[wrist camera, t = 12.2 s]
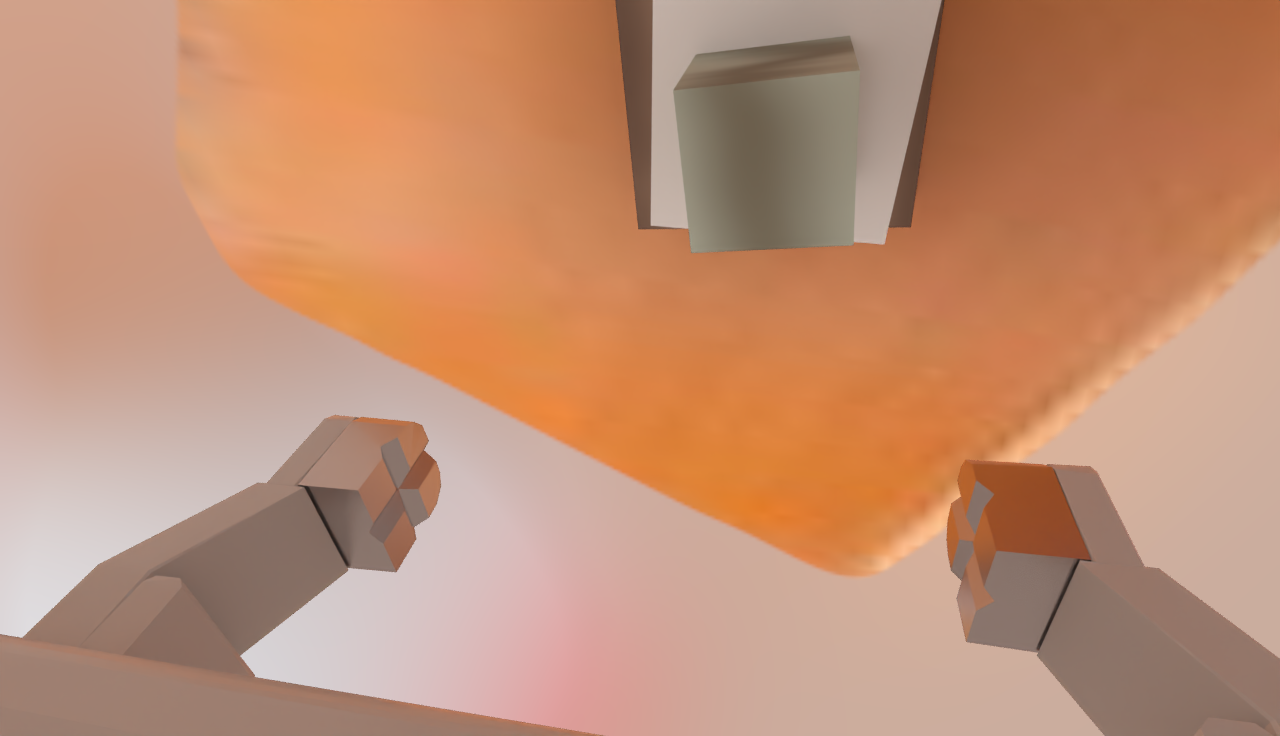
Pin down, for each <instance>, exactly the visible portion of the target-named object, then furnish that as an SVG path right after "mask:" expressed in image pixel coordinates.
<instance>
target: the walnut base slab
mask: <svg viewBox="0 0 1280 736" xmlns="http://www.w3.org/2000/svg"><path fill="white" fill-rule="evenodd" d="M943 6H944V0H942V1H941V5H940V9H939V13H938V18H937V22H936V26H935V31H934V35H933V39H932V43H931V48H930V52H929V56H928V60H927V65H926V69H925V73H924V77H923V82H922V86H921V90H920V95H919V99H918V103H917V107H916V112H915V116H914V120H913V124H912V129H911V133H910V137H909V142H908V146H907V150H906V154H905V159H904V163H903V167H902V171H901V176H900V180H899V184H898V188H897V193H896V197H895V201H894V206H893V210H892V214H891V218H890V223H889V227H911V222H912V215H913V208H914V201H915V195H916V188H917V181H918V174H919V168H920V161H921V154H922V147H923V141H924V134H925V127H926V121H927V114H928V107H929V100H930V94H931V87H932V80H933V73H934V67H935V60H936V53H937V46H938V40H939V33H940V26H941V19H942V13H943ZM616 10H617V20H618V30H619V40H620V50H621V60H622V70H623V80H624V90H625V100H626V110H627V120H628V130H629V140H630V150H631V160H632V170H633V180H634V190H635V200H636V210H637V220H638V229H685V228H673V227H661V226H651V139H652V34H653V0H616Z"/></svg>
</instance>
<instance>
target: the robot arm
mask: <svg viewBox="0 0 1280 736" xmlns="http://www.w3.org/2000/svg"><path fill="white" fill-rule="evenodd" d="M428 441H429V440H428V438H427V435H426V433H425V431H424V428H423V426H422V425H420V424H418V423H415V422H409V421H398V420H387V419H377V418H366V417H360V418H357V417H349V416H339V415H334V416H331V417H328V418H326V419H324V420H323V421H322V422H321V424H320V425H319V426H318V427H317V428H316V429H315V430H314V431H313V432H312V433H311V435H310V436H309V437H308V438H307V439H306V440H305V441H304V442H303V444H302V445H301V446H300V447H299V448H298V449H297V450H296V451H295V452H294V453H293V454H292V456H291V457H290V458H289V459H288V460H287V461H286V462H285V463H284V464H283V466H282V467H281V468H280V469H279V470H278V471H277V472H276V473H275V474H274V475H273V477H272V478H271V479H270V480H269V481H268V482H267V483H256V484H254V485H252V486H251V487H248V488H247V489H245V490H243V491H241V492H239V493H237V494H235V495H233V496H231V497H229V498H227V499H226V500H223V501H221V502H219V503H217V504H215V505H213V506H212V507H210V508H208V509H206V510H204V511H202V512H200V513H198V514H196V515H194V516H192V517H190V518H188V519H187V520H184V521H182V522H180V523H179V524H176V525H174V526H173V527H171V528H169V529H167V530H165V531H163V532H161V533H159V534H157V535H155V536H153V537H151V538H149V539H147V540H145V541H143V542H141V543H139V544H137V545H135V546H134V547H132V548H130V549H128V550H126V551H124V552H122V553H120V554H118V555H116V556H114V557H112V558H110V559H108V560H107V561H104V562H103V563H100V564H99V565H97V566H96V567H95V568H94V569H93V570H92V571H91V572H90V573H89V574H88V575H87V576H86V577H85V578H84V579H83V580H82V581H81V582H80V583H79V584H78V585H77V586H76V587H75V588H74V589H72V590H71V591H70V592H69V593H68V594H67V595H66V596H65V597H64V598H63V599H62V600H61V601H60V602H59V603H58V604H57V605H56V606H55V607H54V608H53V609H52V610H51V611H50V612H49V613H48V614H46V615H45V616H44V618H42V619H41V620H40V621H39V622H38V623H37V624H36V625H35V626H34V627H33V628H32V629H31V630H30V631H29V632H28V633H27V634H26V635H25V636H24V637H23V638H19V637H13V636H7V635H2V634H0V736H603V735H597V734H591V733H585V732H579V731H573V730H567V729H561V728H555V727H549V726H543V725H537V724H531V723H525V722H519V721H513V720H507V719H501V718H495V717H489V716H483V715H477V714H471V713H465V712H459V711H453V710H447V709H441V708H435V707H430V706H424V705H417V704H412V703H406V702H400V701H393V700H387V699H381V698H376V697H369V696H364V695H358V694H352V693H346V692H339V691H334V690H328V689H322V688H316V687H310V686H304V685H298V684H292V683H286V682H280V681H275V680H268V679H263V678H256V677H255V675H254V674H253V672H252V671H251V670H250V668H249V667H248V666H247V664H246V663H245V662H244V660H243V659H242V658H241V657H240V655H241V654H243V653H244V652H245V651H246V650H248V649H249V648H250V647H251V646H253V645H254V644H255V643H257V642H258V641H259V640H260V639H262V638H263V637H264V636H265V635H267V634H268V633H269V632H271V631H272V630H273V629H275V628H276V627H277V626H278V625H279V624H281V623H282V622H283V621H285V620H286V619H287V618H289V617H290V616H291V615H292V614H294V613H295V612H296V611H297V610H299V609H300V608H301V607H303V606H304V605H305V604H306V603H308V602H309V601H310V600H311V599H313V598H314V597H315V596H317V595H318V594H319V593H320V592H321V591H323V590H324V589H325V588H327V587H328V586H329V585H330V584H332V583H333V582H334V581H336V580H337V579H338V578H339V577H341V576H342V575H343V574H345V573H346V572H347V571H348V568H356V569H367V570H378V571H389V572H397V570H398V569H399V567H400V565H401V564H402V562H403V560H404V559H405V557H406V555H407V554H408V552H409V550H410V549H411V547H412V545H413V544H414V542H415V540H416V535H415V529H414V527H415V526H417V525H418V524H420V523H421V522H423V521H424V520H426V519H427V518H429V517H430V515H431V513H432V511H433V510H434V508H435V506H436V504H437V501H438V496H439V492H440V488H441V480H440V471H439V468H438V465H437V462H436V461H435V460H434V459H433V458H432V457H431V456H430V455H428V454H427V453H426V452H425V451H424V449H425V447H426V445H427V443H428ZM957 481H958V485H959V490H960V494H961V497H960V498H958V499H957V500H956V501H954V502H953V503H951V508H950V512H949V517H948V523H947V549H948V558H949V563H950V568H951V571H952V572H953V573H954V574H955V575H956V576H957V577H958V578H959V579H960V580H961V585H960V589H959V592H958V596H957V602H958V606H959V611H960V616H961V620H962V625H963V630H964V634H965V639H966V642H970V643H977V644H984V645H991V646H998V647H1004V648H1011V649H1018V650H1024V651H1031V652H1038V654H1037V656H1038V657H1039V659H1040V660H1041V661H1042V662H1043V663H1044V664H1045V666H1046V667H1047V668H1048V669H1049V670H1050V672H1051V673H1052V674H1053V675H1054V676H1055V677H1056V679H1057V680H1058V681H1059V682H1060V683H1061V685H1062V686H1063V687H1064V688H1065V689H1066V691H1067V692H1068V693H1069V694H1070V695H1071V696H1072V698H1073V699H1074V700H1075V701H1076V702H1077V704H1079V706H1080V707H1081V708H1082V709H1083V711H1084V712H1085V713H1086V714H1087V715H1088V716H1089V718H1090V719H1091V720H1092V721H1093V722H1094V724H1095V725H1096V726H1097V727H1098V728H1099V730H1100V731H1101V732H1102V733H1103V734H1104V735H1105V736H1280V658H1278V657H1277V656H1275V655H1274V654H1273V653H1271V652H1270V651H1269V650H1267V649H1266V648H1265V647H1263V646H1262V645H1261V644H1259V643H1258V642H1257V641H1255V640H1254V639H1252V638H1251V637H1250V636H1249V635H1247V634H1246V633H1245V632H1243V631H1242V630H1241V629H1239V628H1238V627H1237V626H1235V625H1234V624H1233V623H1231V622H1230V621H1229V620H1227V619H1226V618H1225V617H1223V616H1222V615H1221V614H1219V613H1218V612H1216V611H1215V610H1214V609H1212V608H1211V607H1210V606H1208V605H1207V604H1206V603H1204V602H1203V601H1202V600H1200V599H1199V598H1198V597H1196V596H1195V595H1194V594H1192V593H1191V592H1190V591H1188V590H1187V589H1186V588H1184V587H1183V586H1181V585H1180V584H1179V583H1177V582H1176V581H1175V580H1173V579H1172V578H1171V577H1169V576H1168V575H1167V574H1165V573H1164V572H1163V571H1161V570H1160V569H1159V568H1150V567H1145V566H1144V564H1143V562H1142V560H1141V558H1140V556H1139V555H1138V552H1137V550H1136V549H1135V546H1134V545H1133V543H1132V540H1131V538H1130V537H1129V534H1128V533H1127V530H1126V528H1125V526H1124V525H1123V523H1122V520H1121V519H1120V516H1119V515H1118V513H1117V510H1116V508H1115V507H1114V505H1113V503H1112V501H1111V499H1110V496H1109V494H1108V493H1107V490H1106V488H1105V487H1104V485H1103V483H1102V481H1101V479H1100V477H1099V475H1098V473H1097V472H1096V471H1095V470H1094V469H1093V468H1091V467H1090V466H1072V465H1053V464H1047V465H1042V464H1027V463H1012V462H995V461H979V460H965V461H964V463H963V465H962V466H961V469H960V473H959V476H958V480H957Z"/></svg>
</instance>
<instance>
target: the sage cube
mask: <svg viewBox="0 0 1280 736" xmlns="http://www.w3.org/2000/svg"><path fill="white" fill-rule="evenodd" d="M859 84H860V68H859V65H858V62H857V58H856V55H855V52H854V48H853V45H852V41H851V38H850V36H843V37H835V38H826V39H818V40H810V41H801V42H793V43H785V44H777V45H769V46H760V47H752V48H744V49H736V50H727V51H719V52H711V53H703V54H696V55H695V57H694V58H693V60H692V61H691V63H690V65H689V66H688V68H687V69H686V71H685V72H684V74H683V76H682V77H681V79H680V80H679V82H678V84H677V85H676V87H675V88H674V90H673V94H674V103H675V112H676V121H677V130H678V139H679V148H680V157H681V166H682V175H683V184H684V193H685V202H686V211H687V220H688V229H689V238H690V247H691V253H703V252H724V251H745V250H765V249H786V248H807V247H828V246H849V245H854V219H855V192H856V165H857V138H858V111H859Z"/></svg>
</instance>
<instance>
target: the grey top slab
mask: <svg viewBox="0 0 1280 736" xmlns="http://www.w3.org/2000/svg"><path fill="white" fill-rule="evenodd" d="M941 1H942V0H653V34H652V139H651V226H661V227H673V228H685V229H688V220H687V211H686V202H685V193H684V184H683V175H682V166H681V157H680V148H679V139H678V130H677V121H676V112H675V103H674V94H673V90H674V88H675V87H676V85H677V84H678V82H679V80H680V79H681V77H682V76H683V74H684V72H685V71H686V69H687V68H688V66H689V65H690V63H691V61H692V60H693V58H694V57H695V55H696V54H703V53H711V52H719V51H727V50H736V49H744V48H752V47H760V46H769V45H777V44H785V43H793V42H801V41H810V40H818V39H826V38H835V37H843V36H850V38H851V41H852V45H853V48H854V52H855V55H856V58H857V62H858V65H859V68H860V84H859V111H858V138H857V165H856V192H855V219H854V242H860V243H872V244H885V240H886V235H887V231H888V227H889V223H890V218H891V214H892V210H893V206H894V201H895V197H896V193H897V188H898V184H899V180H900V176H901V171H902V167H903V163H904V159H905V154H906V150H907V146H908V142H909V137H910V133H911V129H912V124H913V120H914V116H915V112H916V107H917V103H918V99H919V95H920V90H921V86H922V82H923V77H924V73H925V69H926V65H927V60H928V56H929V52H930V48H931V43H932V39H933V35H934V31H935V26H936V22H937V18H938V13H939V9H940V5H941Z"/></svg>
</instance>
